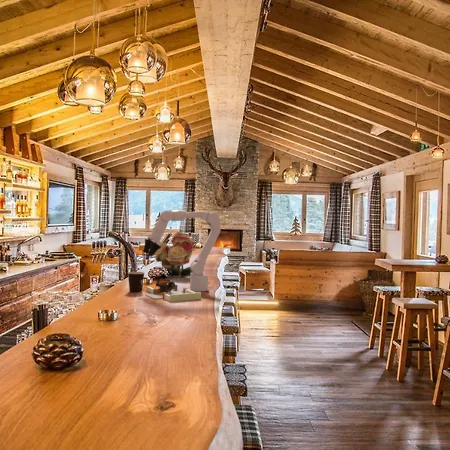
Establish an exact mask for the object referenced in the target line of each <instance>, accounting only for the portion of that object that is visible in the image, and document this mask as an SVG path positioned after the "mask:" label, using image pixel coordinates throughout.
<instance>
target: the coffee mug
mask: <svg viewBox="0 0 450 450" xmlns="http://www.w3.org/2000/svg"><path fill="white" fill-rule="evenodd" d="M127 276H128V277H127V278H128V288H129V290H128V291H129V293H135V294H137V293H142V292H143V287H144V279H145V272H144V271H128V272H127Z"/></svg>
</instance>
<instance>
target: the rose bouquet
mask: <svg viewBox="0 0 450 450" xmlns="http://www.w3.org/2000/svg"><path fill="white" fill-rule="evenodd" d="M173 235H174V236H172V237H171V240H170V241H171V244H172V245H171V246H170V245H168V244H167V243H166V242H163V243H162V242H161V245H159V246H161V248H160V249H158V250H157V251H156V252H155V254H154V255H153V256H155V257H154V259H155V261H156V262H157V263H159V265H161V267H162V269H163V268H165V269H167V271H168V273H169V275H168V277H167V278H166V279H169V280H170V279H187V278H190V273H191V272H192V270H191V269H190V266H188V267H185V268H184V265H187V264H189V263H190V259H191V258H192V255H193V252H194V251H196V249H195V248H194V245H195V244H196V241H194V240H192V239H190V238H191V237H192V235H188V234H187V233H185V232H183V231H175V232H174V233H173Z"/></svg>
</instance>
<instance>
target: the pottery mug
mask: <svg viewBox="0 0 450 450" xmlns="http://www.w3.org/2000/svg"><path fill="white" fill-rule="evenodd" d="M175 285H176V283H175V282H174V281H171V280H170V278H169V279H167V278H159V279H157V280H156V282H155V288H156V289H157V294H163V293H167V294H168V293H171V292H172V291H173V289H174V287H175ZM157 287H158V288H157Z"/></svg>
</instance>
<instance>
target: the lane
mask: <svg viewBox="0 0 450 450" xmlns="http://www.w3.org/2000/svg"><path fill="white" fill-rule="evenodd" d="M157 289H158V288H153V287H152V286H146V287H145V291H146V292H147V293H146V294H145V296H146V297H148V298H150V299H152V300H163V299H164V300H166V301H168V302H171V303H172V302H183V301H193V300H194V301H195V300H201V299H202V291H198V292H193V291H190V290H188V289H189V288H187V287H183V288H182V290H181V292H182V293H175V294H168V293H162V296H160V295H158V293H157ZM173 290H174V291H178V284H175V287H174V289H173ZM173 290H172V291H173Z"/></svg>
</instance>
